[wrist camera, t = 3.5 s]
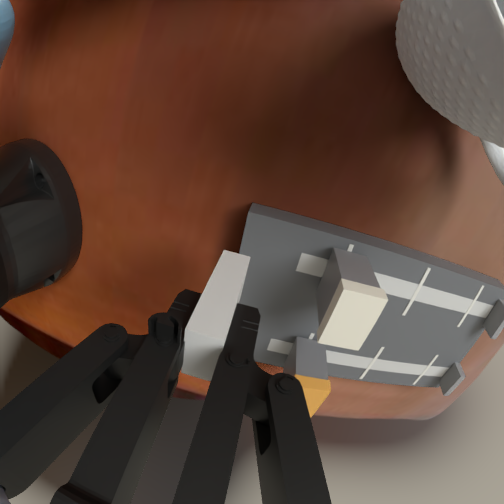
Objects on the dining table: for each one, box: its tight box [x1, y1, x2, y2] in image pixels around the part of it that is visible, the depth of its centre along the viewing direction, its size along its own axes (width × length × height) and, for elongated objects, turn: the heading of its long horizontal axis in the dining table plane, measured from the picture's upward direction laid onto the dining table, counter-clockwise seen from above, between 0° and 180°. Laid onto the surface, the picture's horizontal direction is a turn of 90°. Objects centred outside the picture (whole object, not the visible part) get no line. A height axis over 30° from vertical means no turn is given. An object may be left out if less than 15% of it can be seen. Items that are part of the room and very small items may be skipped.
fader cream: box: [316, 247, 388, 351], centre depth 17 cm, size 3×4×5 cm
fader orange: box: [283, 337, 331, 418], centre depth 20 cm, size 3×4×5 cm
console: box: [239, 203, 504, 396], centre depth 21 cm, size 24×13×4 cm, turn 77°
